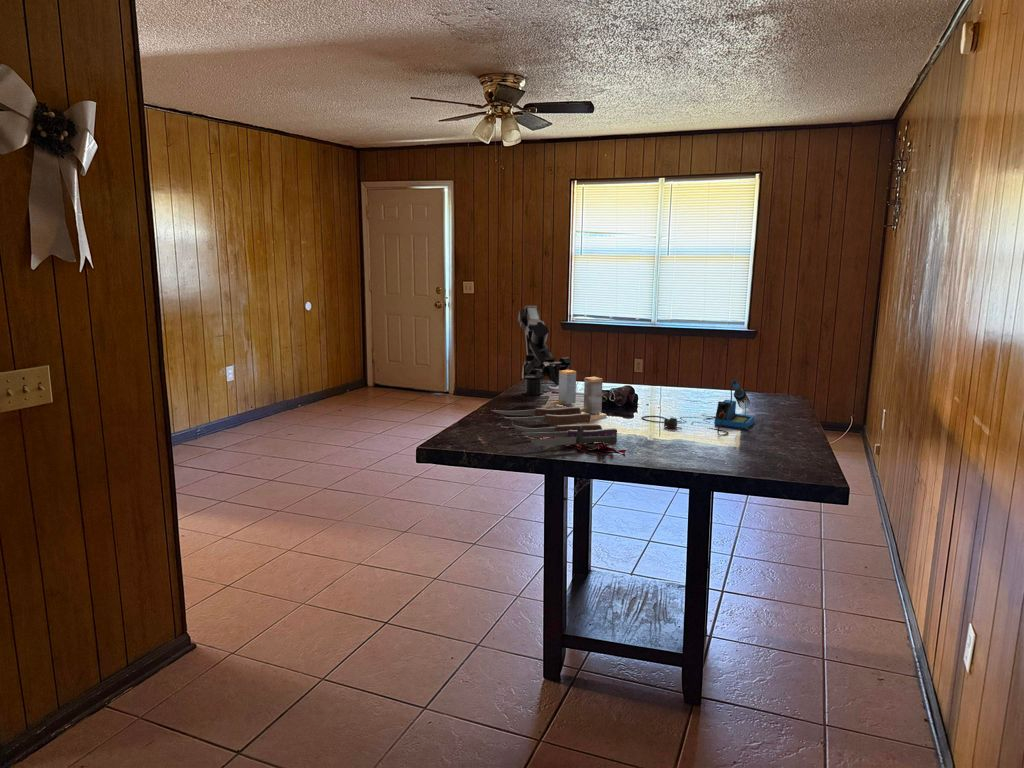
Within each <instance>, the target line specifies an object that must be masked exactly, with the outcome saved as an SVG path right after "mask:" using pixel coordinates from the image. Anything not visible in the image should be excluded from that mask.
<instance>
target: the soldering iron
mask: <svg viewBox="0 0 1024 768" xmlns="http://www.w3.org/2000/svg"><path fill="white" fill-rule="evenodd" d="M738 383H739V382H738V381H737V380H736V379H734V380H732V381H731V384H730V399H725V400H723V401H718V403H717V407H716V412H715V416H711V415H706V419H705V418H702V419H703V420H702V421H705V422H704V424H706V425H708V424H711V422H709V421H707V420H714V422H713V423H714V426H717V427H718V428H711V427H708V428H709V429H708V430H713V429H714V430H713V431H717V432H716V433H717V436H719V435H724V436H727V435H729V431H726V430H723V429H720V428H721V427H725V428H730V429H731V428H732V429H737V428H739V430H744V429H747V428H748V427H749V426H750V425H751V424H752V425H754V423H755V416H754V415H751V414H746V412H747V411H746V409H747V408H749V407H750V405H751V400H750V398H749V396H748V395H747V393H746V391H745V389H743V388H741V387H740V385H739V384H738ZM732 388H733V389H734V392H733V389H732ZM733 397H734V399H735V400H733ZM737 404H738V405H737ZM737 406H738V407H739V408H741V409H744V413H743V414H742V413H736V408H737ZM742 406H744V407H742ZM701 416H703V417H705V413H703V414H701ZM646 418H661V419H664V420H663V421H660V420H658V421H657V420H651V419H646ZM682 418H683V416H681V417H680V418H679V419H680V420H678V419H677V418H675V417H674V418H673V417H670V418H666V417H664V416H661V415H645V416H641V419H642V420H643V421H646V422H652V423H659V424H660V423H663V427H665V428H666V427H667V428H668V429H669V430H670V429H671V430H675V429H680V430H682V429H683V428H682V427H680V426H678V423H680V424H683V422H684V424H686V423H687V420H685V419H682ZM684 418H690V419H693V418H694V419H699V417H697V416H696V417H695V416H691V417H690V416H684ZM753 422H754V423H753ZM693 423H694V421H692V422H691V424H693ZM696 423H698V424H701V422H699V421H696ZM752 425H751V426H752ZM751 426H750V427H751ZM750 427H749V428H750ZM749 428H748V429H749ZM748 429H747V430H748ZM719 432H724V433H725V434H723V433H722V434H720V433H719Z"/></svg>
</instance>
